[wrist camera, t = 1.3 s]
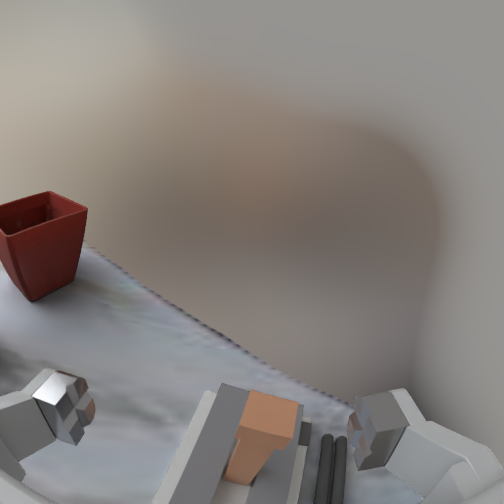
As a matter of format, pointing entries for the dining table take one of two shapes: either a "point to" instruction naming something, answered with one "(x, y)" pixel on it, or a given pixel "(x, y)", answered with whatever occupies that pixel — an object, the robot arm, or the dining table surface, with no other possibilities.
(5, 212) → the plant pot
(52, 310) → the dining table surface
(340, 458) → the twin grey rods
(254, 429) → the breaker handle
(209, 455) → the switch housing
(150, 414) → the dining table surface
